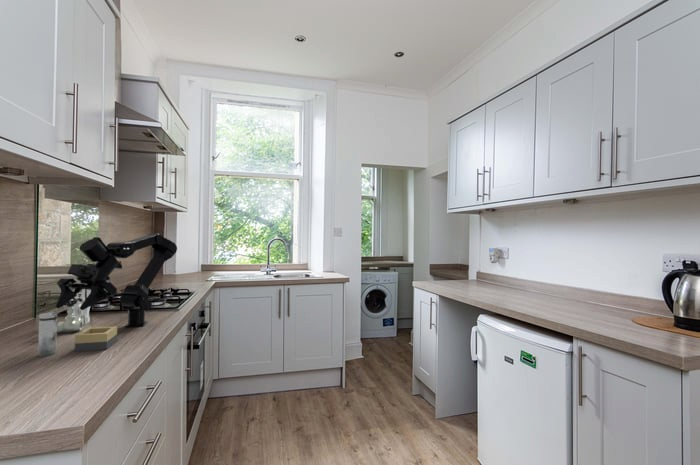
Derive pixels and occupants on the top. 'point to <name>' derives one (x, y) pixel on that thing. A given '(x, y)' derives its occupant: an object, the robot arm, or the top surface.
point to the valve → (70, 319)
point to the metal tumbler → (47, 334)
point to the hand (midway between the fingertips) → (69, 308)
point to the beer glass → (79, 313)
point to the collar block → (95, 339)
